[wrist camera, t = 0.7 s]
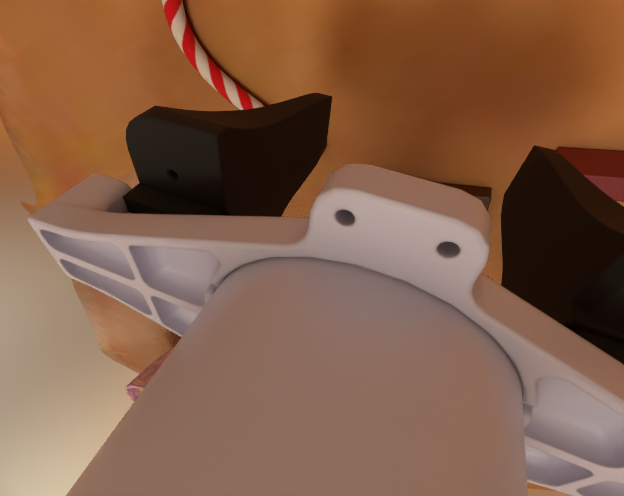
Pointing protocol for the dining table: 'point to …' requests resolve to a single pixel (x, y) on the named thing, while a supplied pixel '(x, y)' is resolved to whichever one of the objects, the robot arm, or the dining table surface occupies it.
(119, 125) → the dining table surface
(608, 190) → the square frame
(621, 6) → the dining table surface
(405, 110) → the dining table surface
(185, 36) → the candy cane
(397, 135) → the dining table surface
